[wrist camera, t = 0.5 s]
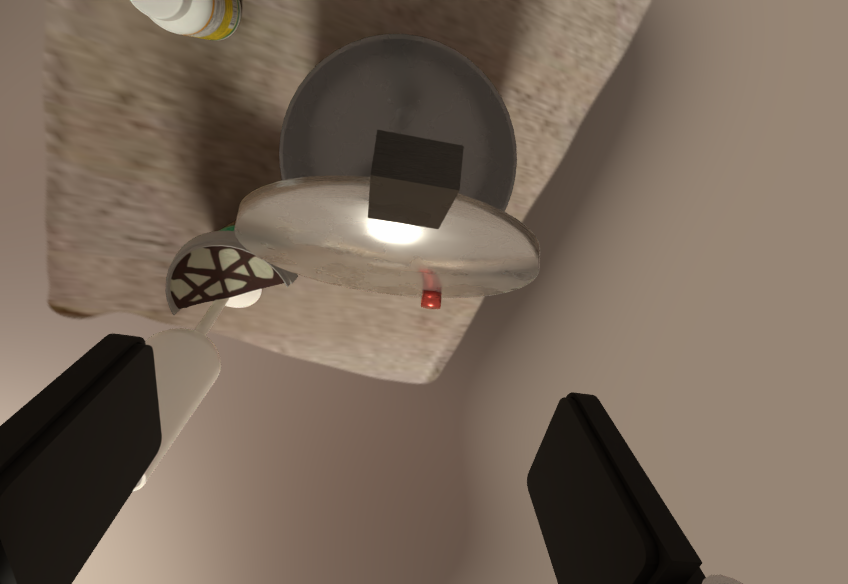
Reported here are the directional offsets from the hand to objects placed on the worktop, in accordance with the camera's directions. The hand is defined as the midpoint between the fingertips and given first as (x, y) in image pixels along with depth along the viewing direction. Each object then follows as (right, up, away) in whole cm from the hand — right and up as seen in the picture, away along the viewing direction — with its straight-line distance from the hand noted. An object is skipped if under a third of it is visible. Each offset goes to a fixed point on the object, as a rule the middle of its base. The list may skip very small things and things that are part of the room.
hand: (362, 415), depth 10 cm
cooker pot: (-1, +17, +33) cm, 37 cm away
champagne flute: (-21, +4, +39) cm, 44 cm away
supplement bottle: (-17, +28, +27) cm, 42 cm away
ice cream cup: (-18, +9, +36) cm, 41 cm away
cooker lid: (0, +6, +16) cm, 17 cm away
